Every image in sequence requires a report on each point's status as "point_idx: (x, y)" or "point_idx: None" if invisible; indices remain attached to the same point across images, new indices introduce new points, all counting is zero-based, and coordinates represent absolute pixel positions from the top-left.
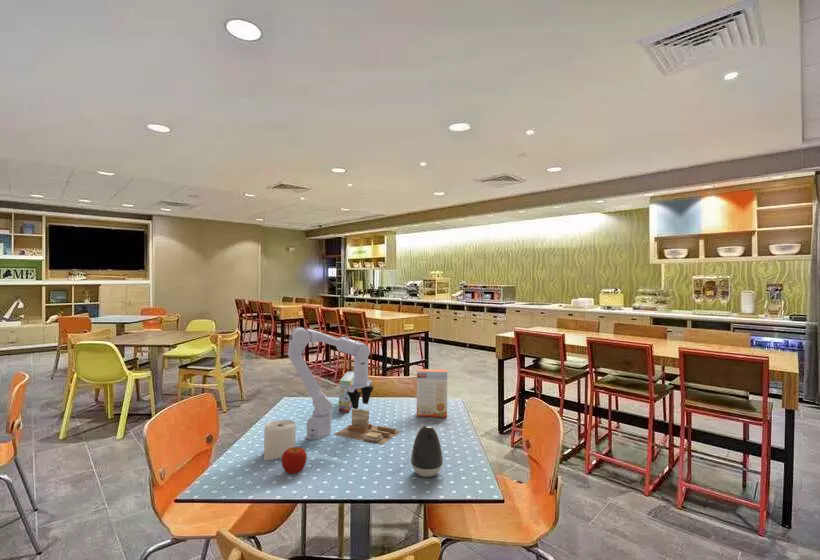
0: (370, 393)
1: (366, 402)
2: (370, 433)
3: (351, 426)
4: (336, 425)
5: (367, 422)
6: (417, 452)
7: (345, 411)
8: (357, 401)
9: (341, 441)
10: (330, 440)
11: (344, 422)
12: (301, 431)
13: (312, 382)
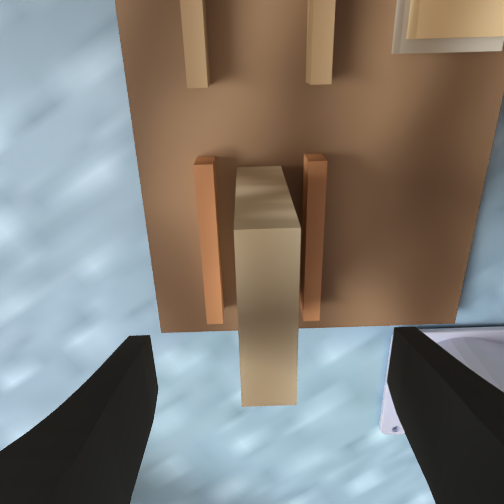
0: (34, 437)
1: (146, 358)
2: (470, 2)
3: (320, 289)
4: (244, 411)
5: (260, 185)
6: None
7: None
8: (498, 390)
9: (496, 226)
10: (501, 296)
11: (168, 405)
12: (421, 489)
13: None
